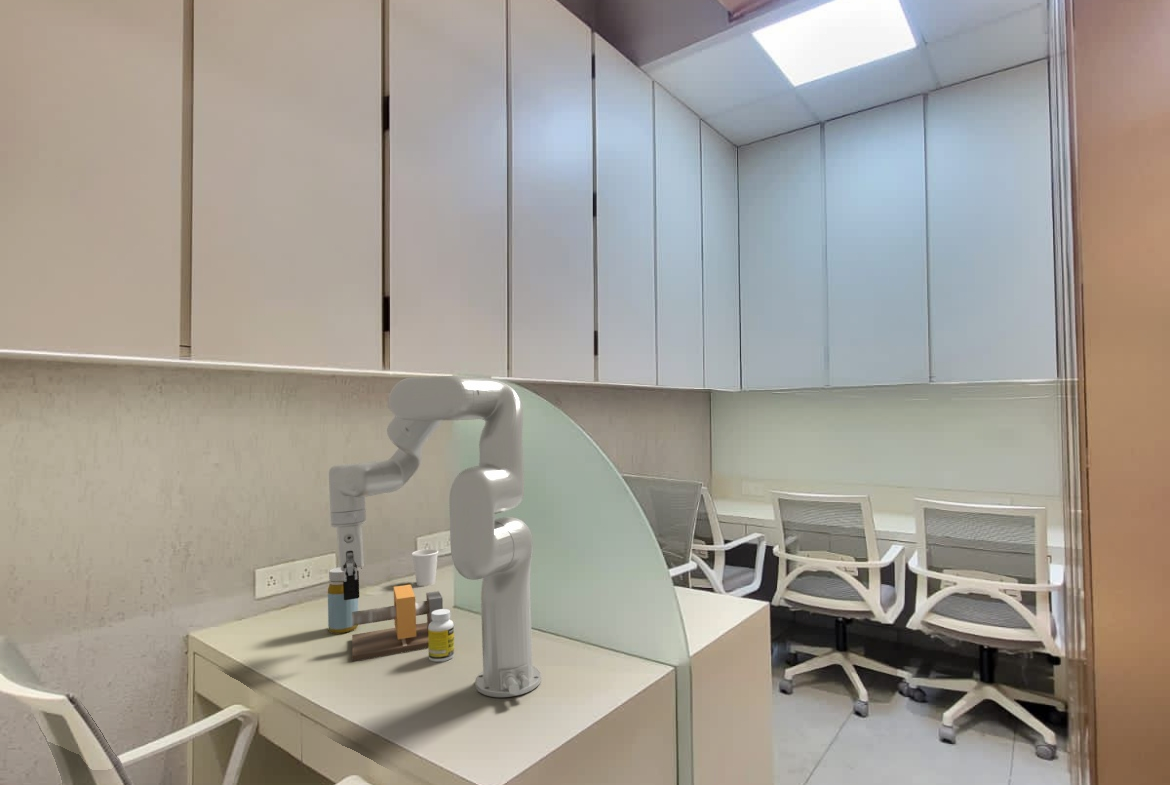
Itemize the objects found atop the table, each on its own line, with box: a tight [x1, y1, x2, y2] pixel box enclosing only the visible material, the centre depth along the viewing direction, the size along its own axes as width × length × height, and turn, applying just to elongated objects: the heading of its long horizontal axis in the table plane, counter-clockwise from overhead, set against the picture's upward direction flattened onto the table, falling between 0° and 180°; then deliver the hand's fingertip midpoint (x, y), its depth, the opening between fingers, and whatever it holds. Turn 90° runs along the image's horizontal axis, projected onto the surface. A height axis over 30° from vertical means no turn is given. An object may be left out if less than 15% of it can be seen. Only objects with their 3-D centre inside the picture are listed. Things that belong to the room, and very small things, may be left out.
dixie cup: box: [411, 548, 439, 587], centre depth 187 cm, size 8×8×10 cm
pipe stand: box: [351, 590, 444, 662], centre depth 137 cm, size 14×20×10 cm
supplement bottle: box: [428, 608, 455, 663], centre depth 127 cm, size 5×5×10 cm
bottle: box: [327, 566, 359, 634], centre depth 148 cm, size 7×7×15 cm
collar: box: [393, 584, 417, 639], centre depth 138 cm, size 11×4×9 cm, turn 22°
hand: (351, 593), depth 133 cm, fingers open, 9 cm apart
